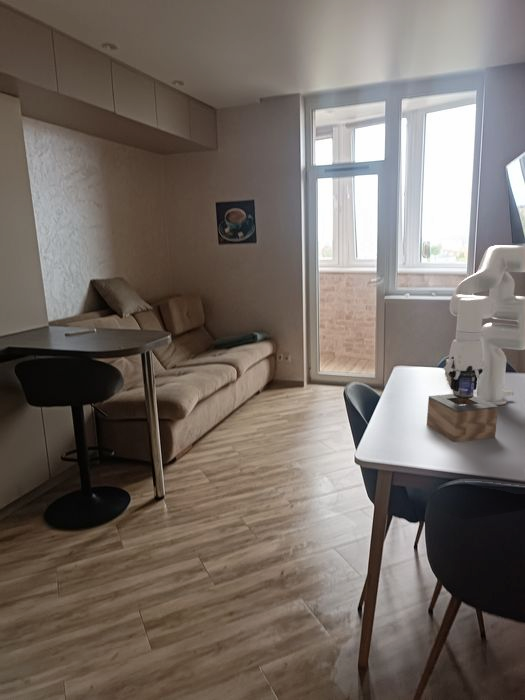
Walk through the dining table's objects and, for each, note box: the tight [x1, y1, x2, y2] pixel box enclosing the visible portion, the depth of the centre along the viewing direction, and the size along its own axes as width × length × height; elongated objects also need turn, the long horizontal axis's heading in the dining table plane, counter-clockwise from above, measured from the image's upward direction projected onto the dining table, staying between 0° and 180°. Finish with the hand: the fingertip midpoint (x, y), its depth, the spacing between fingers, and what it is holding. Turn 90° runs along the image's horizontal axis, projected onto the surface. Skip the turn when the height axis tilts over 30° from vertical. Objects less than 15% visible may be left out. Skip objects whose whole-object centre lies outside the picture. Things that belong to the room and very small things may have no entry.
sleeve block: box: [426, 393, 499, 443], centre depth 163 cm, size 15×15×11 cm
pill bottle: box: [452, 366, 475, 399], centre depth 160 cm, size 6×6×11 cm
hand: (463, 388), depth 161 cm, fingers closed on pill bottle, 6 cm apart
